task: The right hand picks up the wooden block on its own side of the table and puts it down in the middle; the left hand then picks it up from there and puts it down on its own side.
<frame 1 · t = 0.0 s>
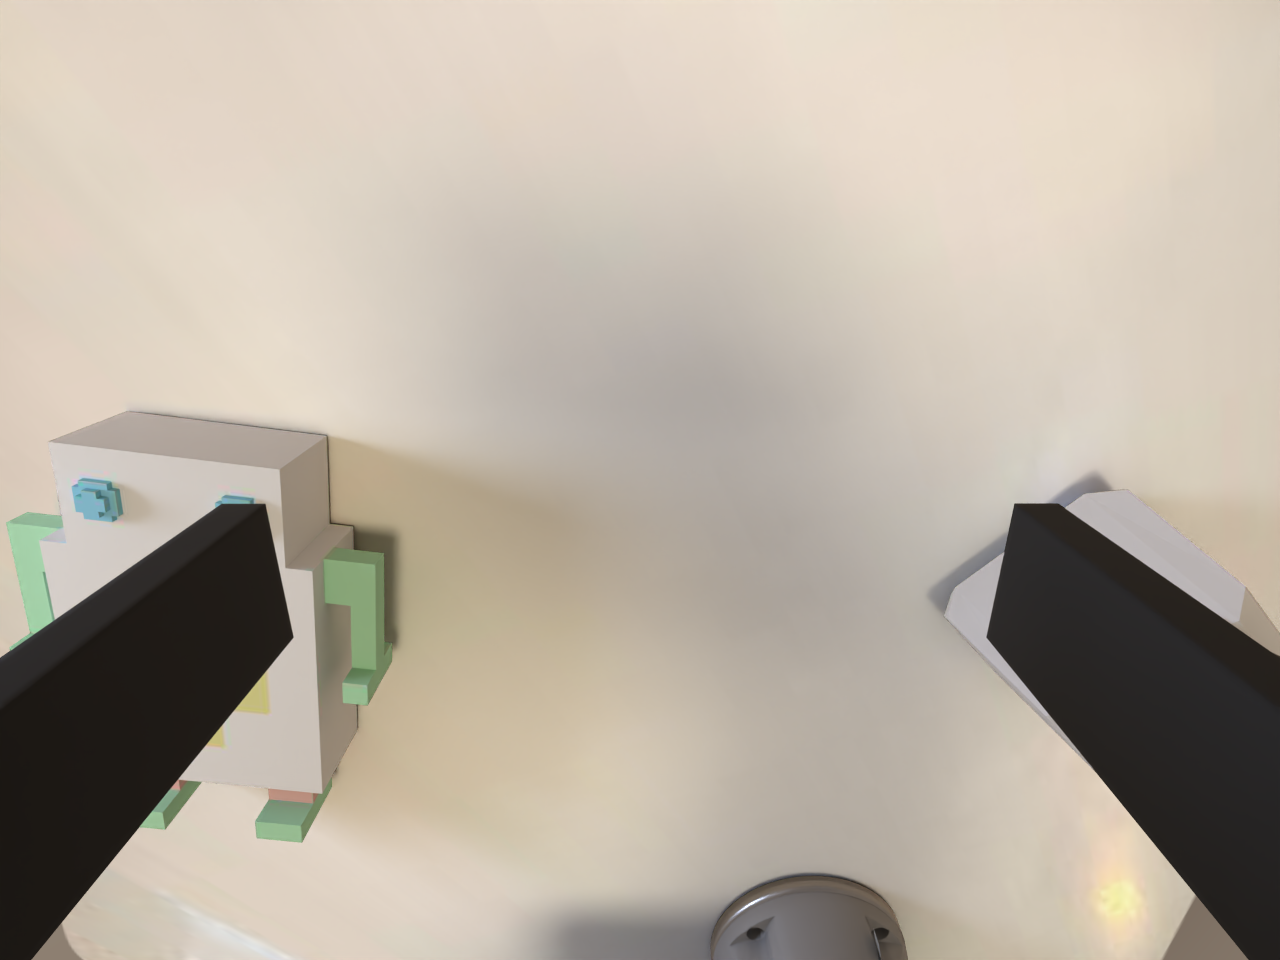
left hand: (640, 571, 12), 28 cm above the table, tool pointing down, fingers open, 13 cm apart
decorative block: (245, 611, 45), on the table
electronic device: (1038, 570, 44), on the table
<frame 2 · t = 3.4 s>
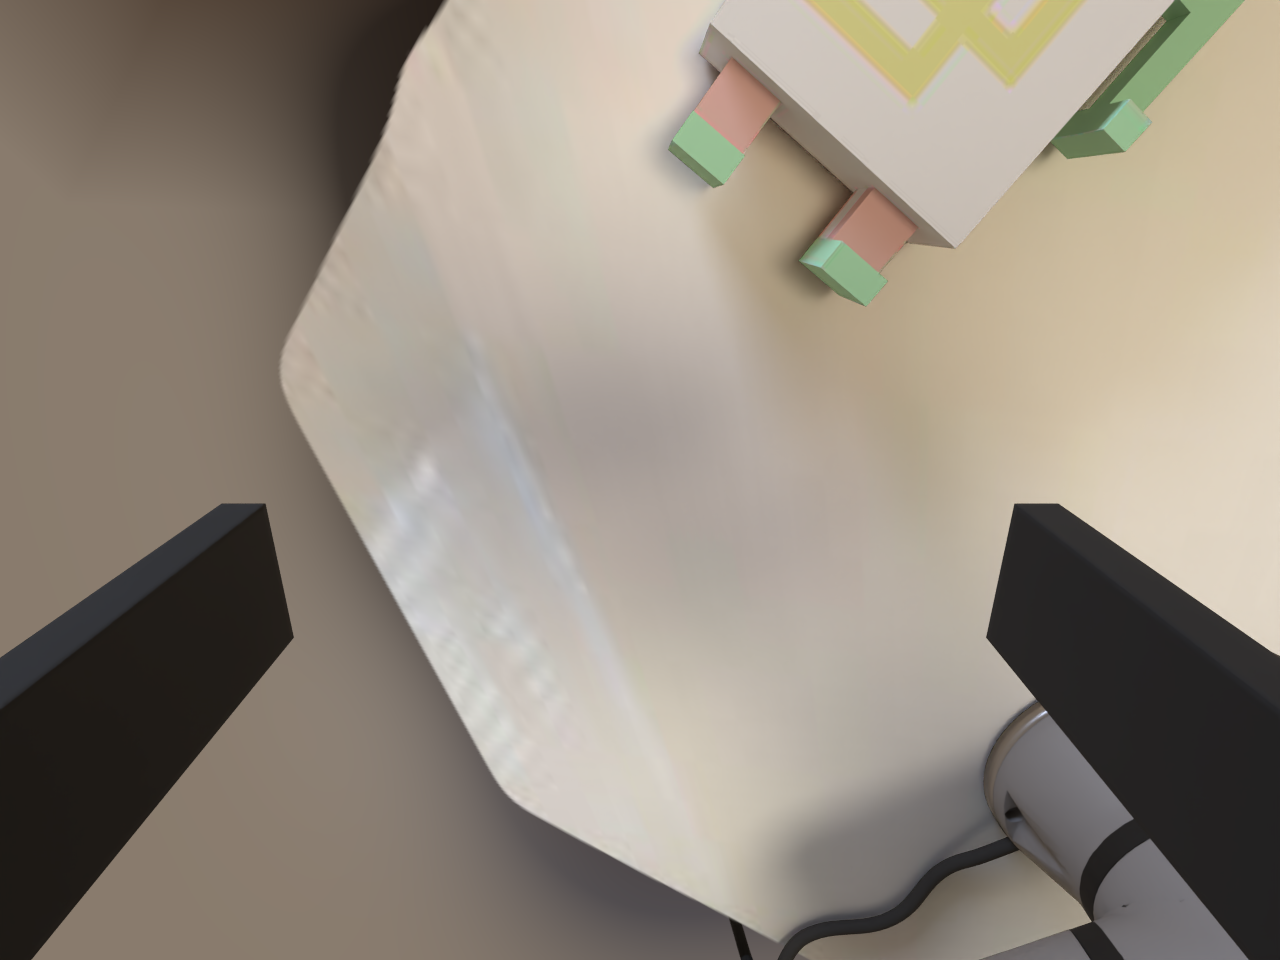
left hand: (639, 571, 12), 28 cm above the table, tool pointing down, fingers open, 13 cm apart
when the right hand's fingers open (1 cm above the table, at t = 7.3 s): block stays where it is, on the table.
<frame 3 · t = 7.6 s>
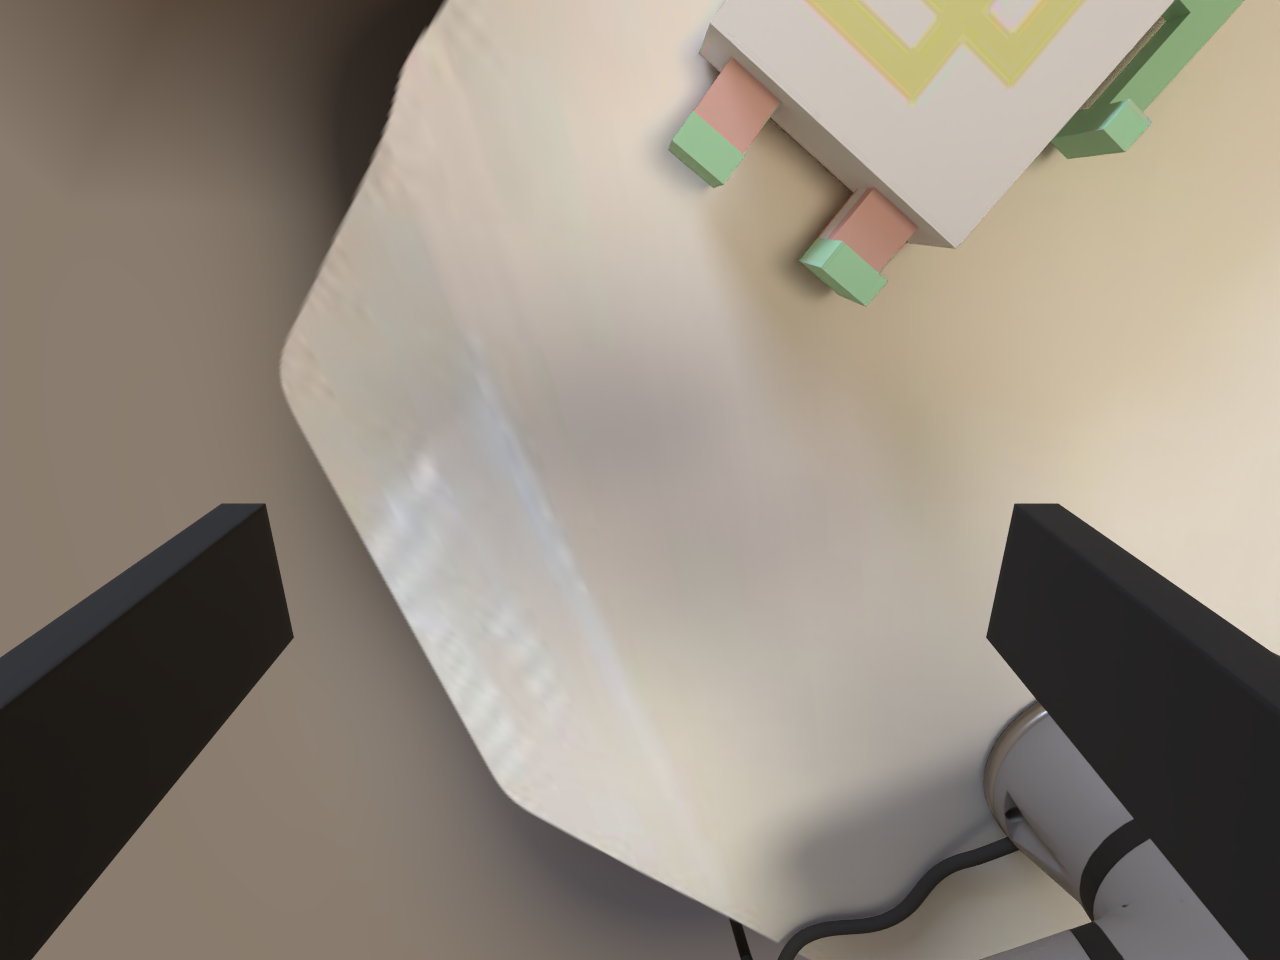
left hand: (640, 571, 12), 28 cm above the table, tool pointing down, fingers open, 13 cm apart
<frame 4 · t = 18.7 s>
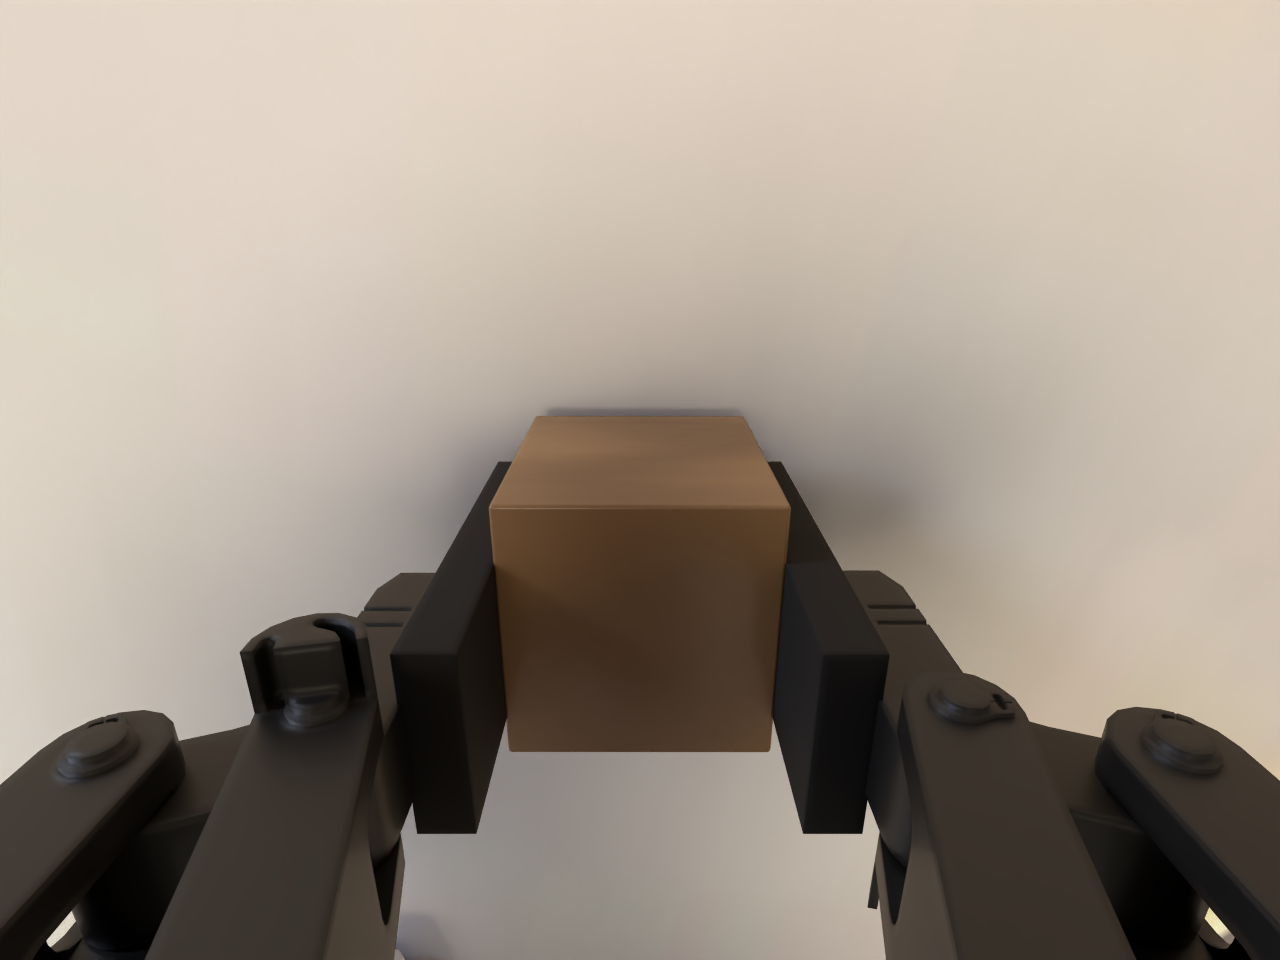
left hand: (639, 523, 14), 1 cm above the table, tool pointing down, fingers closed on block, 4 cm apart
block: (639, 513, 15), point 1 cm above the table, touching left hand
when the left hand's fingers open (1 cm above the table, at t = 34.1 s): block stays where it is, on the table.
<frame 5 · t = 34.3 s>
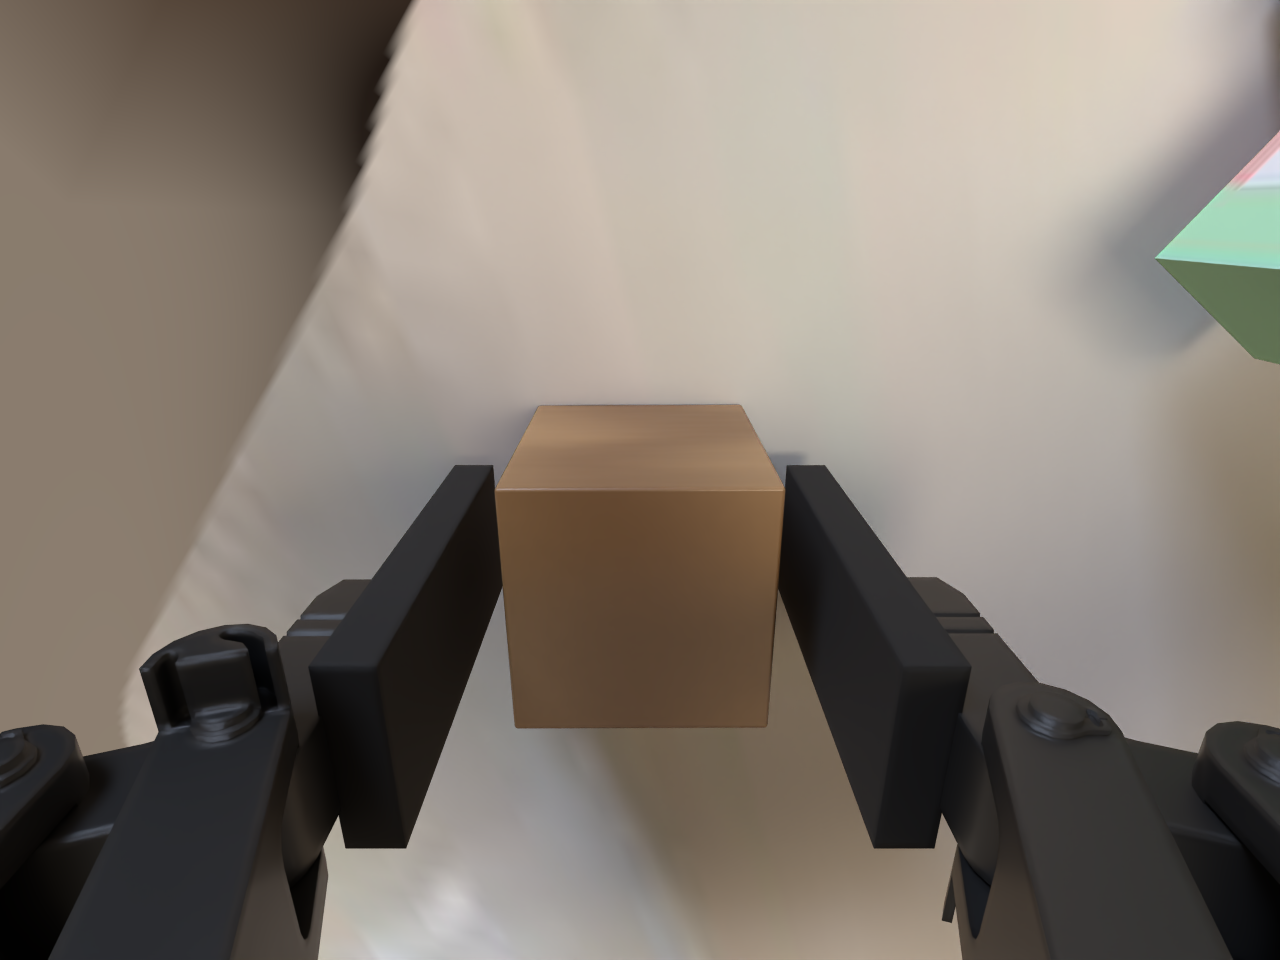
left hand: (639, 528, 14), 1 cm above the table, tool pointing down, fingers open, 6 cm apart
block: (640, 501, 15), on the table
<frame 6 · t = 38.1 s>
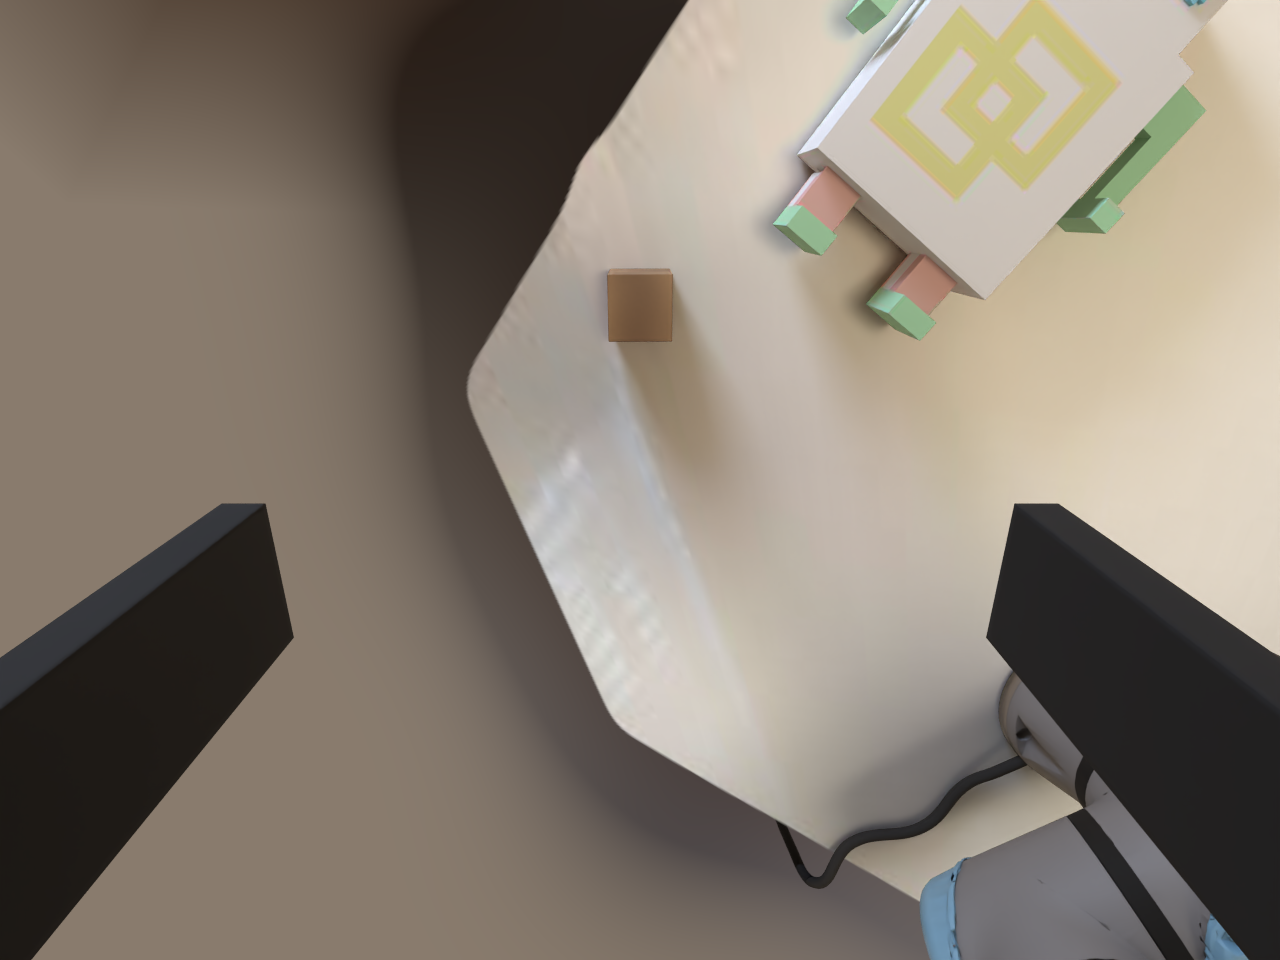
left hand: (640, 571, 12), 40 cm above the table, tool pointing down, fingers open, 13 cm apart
decorative block: (966, 113, 45), on the table
block: (640, 300, 49), on the table
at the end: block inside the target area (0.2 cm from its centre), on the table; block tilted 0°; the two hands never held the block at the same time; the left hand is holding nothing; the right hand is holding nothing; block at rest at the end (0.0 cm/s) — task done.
